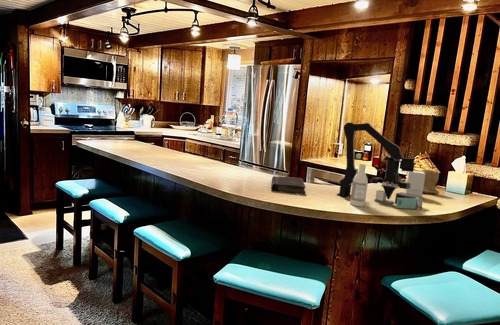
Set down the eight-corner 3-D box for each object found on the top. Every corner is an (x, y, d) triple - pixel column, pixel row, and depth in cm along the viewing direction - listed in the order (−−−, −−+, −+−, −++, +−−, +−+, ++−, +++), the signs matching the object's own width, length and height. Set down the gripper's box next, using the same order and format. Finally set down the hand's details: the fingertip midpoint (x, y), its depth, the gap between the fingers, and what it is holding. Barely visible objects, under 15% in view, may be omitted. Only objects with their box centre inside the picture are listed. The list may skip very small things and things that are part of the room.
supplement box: (420, 196, 228) (424, 171, 226) (421, 199, 219) (426, 173, 217) (404, 193, 231) (407, 169, 229) (405, 196, 222) (409, 171, 220)
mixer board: (388, 204, 194) (389, 202, 193) (374, 201, 199) (374, 199, 199) (393, 203, 198) (394, 201, 198) (379, 200, 203) (379, 198, 203)
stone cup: (433, 192, 249) (436, 169, 247) (441, 195, 237) (445, 172, 235) (409, 189, 249) (413, 167, 247) (417, 193, 237) (420, 169, 235)
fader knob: (382, 200, 197) (383, 192, 196) (375, 199, 200) (376, 190, 199) (385, 200, 200) (387, 191, 199) (378, 198, 202) (379, 189, 202)
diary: (270, 192, 199) (271, 182, 199) (271, 183, 224) (272, 175, 223) (306, 195, 198) (307, 186, 198) (302, 186, 223) (303, 178, 222)
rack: (417, 209, 189) (418, 198, 188) (393, 203, 197) (395, 193, 196) (423, 207, 195) (425, 196, 194) (400, 202, 203) (401, 191, 202)
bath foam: (353, 202, 190) (358, 163, 188) (366, 205, 186) (372, 165, 183) (347, 204, 185) (352, 163, 183) (360, 207, 181) (366, 166, 178)
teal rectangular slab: (413, 208, 190) (415, 198, 189) (416, 209, 188) (418, 199, 187) (395, 207, 188) (397, 197, 187) (398, 208, 186) (399, 198, 185)
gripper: (416, 171, 195) (412, 201, 196) (381, 166, 207) (378, 194, 209) (407, 172, 186) (403, 203, 188) (372, 167, 199) (368, 196, 201)
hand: (388, 199), depth 197 cm, fingers closed
